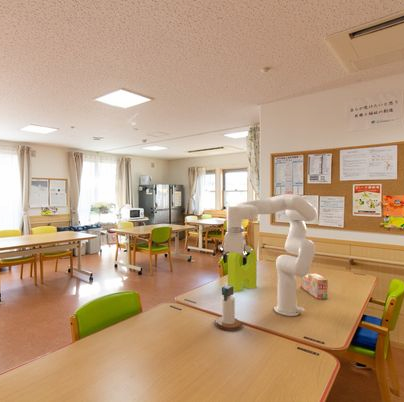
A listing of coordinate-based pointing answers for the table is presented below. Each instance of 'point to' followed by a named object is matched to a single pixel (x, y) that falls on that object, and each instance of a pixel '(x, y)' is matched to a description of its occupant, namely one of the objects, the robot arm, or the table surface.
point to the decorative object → (242, 271)
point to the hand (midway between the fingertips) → (234, 263)
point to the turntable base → (228, 328)
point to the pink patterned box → (315, 285)
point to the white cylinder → (228, 309)
